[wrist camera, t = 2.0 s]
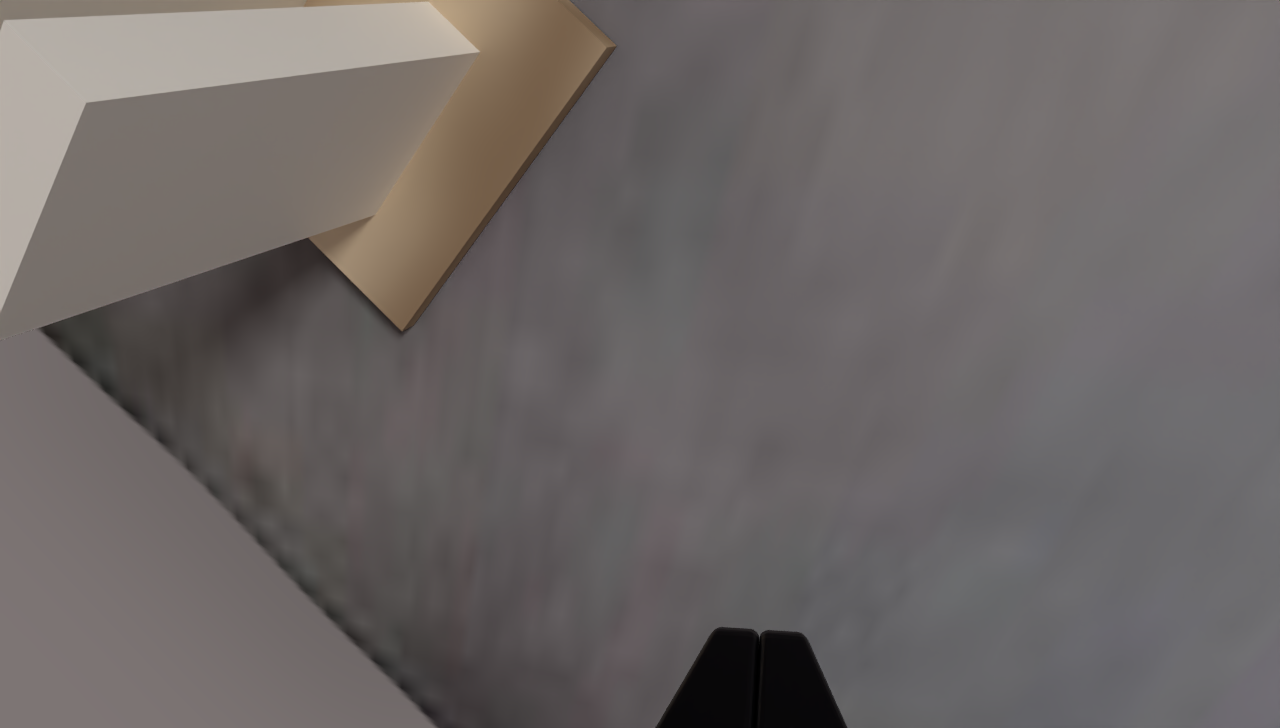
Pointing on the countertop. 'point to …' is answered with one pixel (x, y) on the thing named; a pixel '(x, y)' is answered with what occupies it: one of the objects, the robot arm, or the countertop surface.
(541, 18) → the oak strip
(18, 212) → the domino
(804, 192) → the countertop surface
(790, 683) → the robot arm
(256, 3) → the domino
